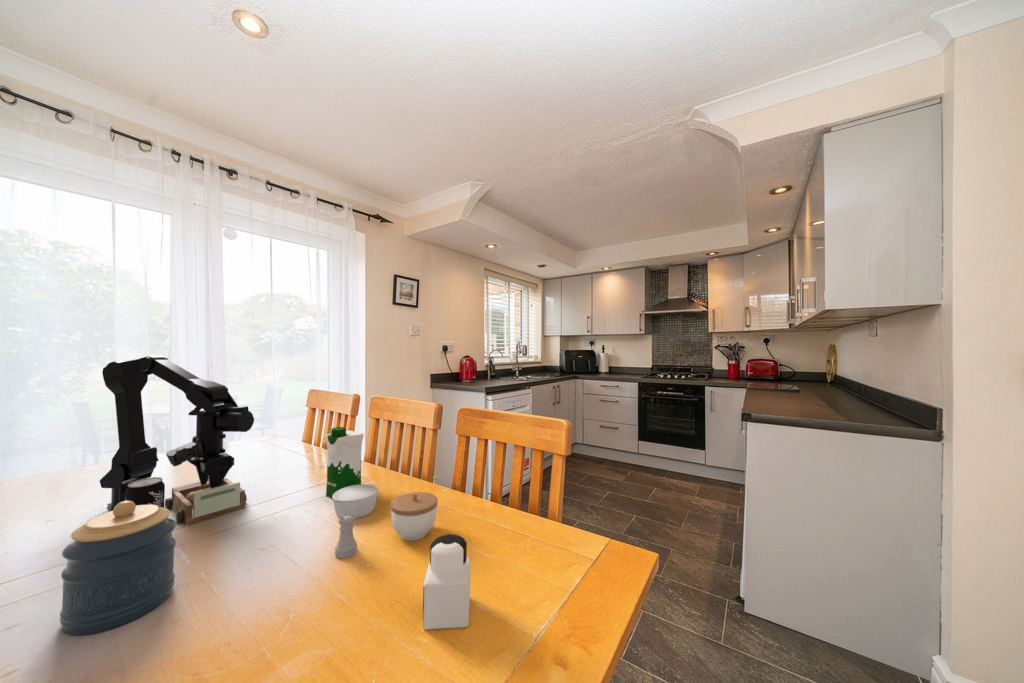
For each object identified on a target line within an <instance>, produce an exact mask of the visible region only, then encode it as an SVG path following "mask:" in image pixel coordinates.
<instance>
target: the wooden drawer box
mask: <svg viewBox="0 0 1024 683" xmlns="http://www.w3.org/2000/svg"><path fill="white" fill-rule="evenodd" d="M231 483H234V482H233V481H232V480H229V479H228V478H224V479H223V481H222V483H221V485H220V486H223V485H227V484H231ZM206 488H210V485H209V479H208V481H207V483H206V484H205V485H201V483H200V481H197V482H193V483H188V484H184V485H180V486H175V487H171V497H169V498H164V508H166V509H168V510H169V509H172V510H173V511H174V512H175V520H176V521H175V522H176V523H179V522H184V524H186V525H191V524H193V523H196V522H200V521H202V520H205V519H207V520H208V519H210V518H213V517H217V516H220V515H223V514H226V513H230V512H234V511H236V510H239V509H243V508H245V507H246V506H245V505H246V503H247V499H248V498H247V494H246V490H245V489H243V488H242V487H240V505H237V506H234V507H230V508H227V509H223V510H220V511H217V512H213V513H210V514H206V515H203V516H199V517H196V518H194V517H193V504H191V503H190V502H189V501H188V500H187V499H186V496H187V495H188V494H189V493H191V492H194V491H198V490H202V489H206Z"/></svg>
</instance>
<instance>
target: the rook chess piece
mask: <svg viewBox="0 0 1024 683" xmlns="http://www.w3.org/2000/svg"><path fill="white" fill-rule="evenodd" d="M355 520H356V518H354V517H353V514H351V513H349V515H347V513H346V514H344V516H343V515H341V517H339V520H338V521H337V523H338V524H339V525H340V527H339V528H338V529H339V532H340V533H339V538H338V541H337V543H336V545H335V548H334V550H335V551H334V556H335V557H336V558H338V559H341V560H342V559H347V558H351V557H352V556H354V555H355V554H356V553H357V551H358V547H357V546H358V542H357V541H356V538H354V531H353V530H354V526H355V525H353V523H354V521H355Z"/></svg>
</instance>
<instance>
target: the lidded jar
mask: <svg viewBox="0 0 1024 683" xmlns="http://www.w3.org/2000/svg"><path fill="white" fill-rule="evenodd" d="M438 500H439V499H438V497H437V496H436V495H435V494H432V493H429V492H425V491H424V492H422V491H416V492H414V491H413V492H407V493H404V494H402V495H399V496H396V497H395V498H393V500H391V503H390V511H391V512H390V513H391V514H390V515H391V522H392V527H393V529H394V531H395V533H397V535H399V536H400V537H401V539H403V540H406V541H417V540H420V539H422V538H425V537H426V535H427V534H428V533H429V532H430V530H431V529H432V528H433V526H434V524H435V522H436V519H437V512H438Z"/></svg>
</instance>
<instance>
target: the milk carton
mask: <svg viewBox="0 0 1024 683" xmlns="http://www.w3.org/2000/svg"><path fill="white" fill-rule="evenodd" d="M364 435H365V433H362V432H358V431H354V430H347V427H345V426H339V427H333V428H331V429H330V433H329V434H325V441H326V442H325V443H326V449H327V450H326V451H327V460H326V461H327V463H326V465H327V466H326V471H327V472H326V489H325V496H326V495H327V497H329V498H331V497H332V496H333V494H334V493H335V492H336V491H338V490H340V489H342V488H345V487H348V486H353V485H360V484H362V445H363V440H364Z"/></svg>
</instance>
